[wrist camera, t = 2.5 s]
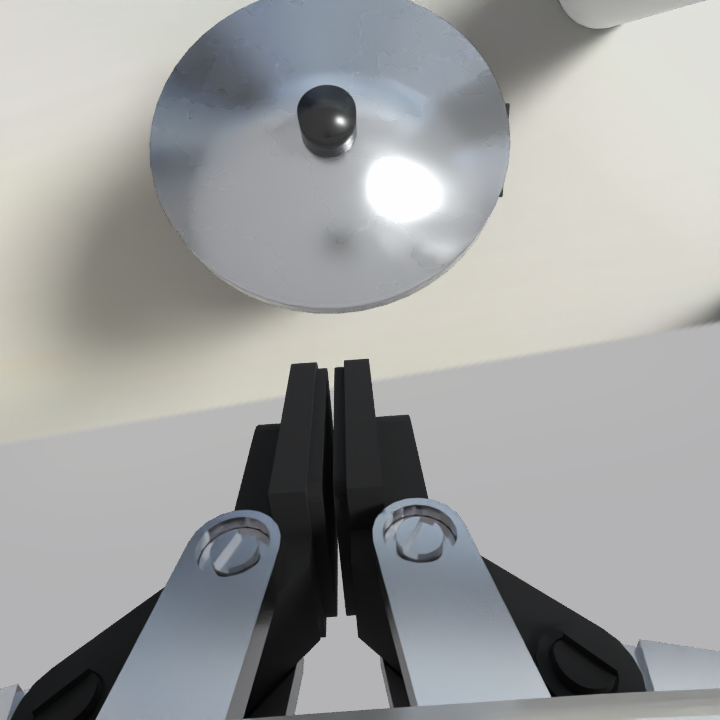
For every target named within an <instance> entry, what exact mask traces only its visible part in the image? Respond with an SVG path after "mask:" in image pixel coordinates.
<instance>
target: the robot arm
mask: <svg viewBox="0 0 720 720" xmlns="http://www.w3.org/2000/svg"><path fill="white" fill-rule="evenodd" d="M337 543H338V544H339V552H340V562H341V571H342V580H343V590H344V599H345V608H346V615H347V616H351V615H356V618H357V629H358V637H359V638H360V639H361V640H362V641H363V642H365V643H366V644H367V645H368V646H369V647H370V648H371V649H373V650H374V651H375V652H376V653H377V654H378V655H380V661H381V670H382V674H383V678H384V683H385V687H386V692H387V696H388V701H389V705H390V708H387V709H373V710H359V711H347V712H332V713H319V714H304V715H294V714H295V709H296V704H297V700H298V695H299V690H300V685H301V680H302V675H303V664H304V659H303V656H305V654H307V653H308V652H309V651H310V650H311V649H312V648H313V647H314V645H316V643H318V642H319V641H320V637H326V617H336V616H337V585H338V580H337V579H338V578H337V577H338V567H337V566H338V564H337V563H338V562H337V561H338V551H337V550H338V544H337ZM0 720H720V651H714V650H707V649H700V648H694V647H688V646H680V645H674V644H667V643H661V642H654V641H648V640H641V639H640V640H639V642H638V645H637V647H635V646H629V645H623V644H621V643H620V641H618V640H617V639H616V638H614V637H613V636H612V635H610V634H609V633H608V632H606V631H605V630H604V629H602V628H601V627H599V626H597V625H596V624H594V623H592V622H591V621H589V620H587V619H586V618H584V617H582V616H581V615H579V614H577V613H576V612H574V611H572V610H571V609H569V608H567V607H566V606H564V605H562V604H561V603H559V602H557V601H556V600H554V599H552V598H550V597H549V596H547V595H545V594H544V593H542V592H541V591H539V590H537V589H535V588H534V587H532V586H531V585H529V584H527V583H526V582H524V581H522V580H521V579H519V578H517V577H516V576H514V575H512V574H511V573H509V572H507V571H506V570H504V569H502V568H501V567H499V566H497V565H496V564H494V563H492V562H491V561H489V560H487V559H485V558H484V557H482V556H481V555H480V554H479V551H478V549H477V547H476V545H475V543H474V541H473V539H472V537H471V535H470V533H469V531H468V529H467V527H466V525H465V523H464V522H463V521H462V519H461V518H460V516H459V515H458V514H457V513H456V512H455V511H453V510H452V509H451V508H449V507H448V506H447V505H445V504H442V503H440V502H438V501H435V500H431V499H428V496H427V491H426V487H425V482H424V478H423V473H422V469H421V465H420V460H419V456H418V451H417V447H416V442H415V438H414V433H413V429H412V425H411V420H410V417H409V415H397V416H384V417H375V409H374V400H373V391H372V383H371V374H370V365H369V359H359V360H344V367H337V368H335V375H334V430H333V421H332V410H331V400H330V390H329V380H328V371H327V368H322V369H318V365H317V362H314V363H299V364H292V365H291V369H290V374H289V380H288V386H287V391H286V397H285V403H284V408H283V413H282V419H281V423H280V424H265V425H258V426H257V427H256V429H255V432H254V436H253V440H252V443H251V448H250V451H249V456H248V459H247V463H246V467H245V471H244V475H243V479H242V483H241V488H240V491H239V495H238V499H237V502H236V506H235V510H234V511H232V512H228V513H225V514H222V515H219V516H217V517H216V518H214V519H212V520H210V521H208V522H207V523H205V524H204V525H203V526H202V527H201V528H200V529H199V530H197V531H196V533H195V534H194V535H193V537H192V538H191V540H190V541H189V542H188V544H187V546H186V548H185V550H184V552H183V553H182V555H181V558H180V559H179V561H178V563H177V565H176V567H175V569H174V571H173V573H172V574H171V576H170V578H169V580H168V582H167V584H166V586H165V587H164V588H163V589H161V590H160V591H159V592H157V593H156V594H154V595H153V596H152V597H150V598H149V599H147V600H146V601H145V602H143V603H142V604H141V605H139V606H138V607H136V608H135V609H134V610H132V611H131V612H129V613H128V614H127V615H125V616H124V617H123V618H121V619H120V620H118V621H117V622H116V623H114V624H113V625H111V626H110V627H109V628H108V629H106V630H104V631H103V632H102V633H100V634H99V635H98V636H96V637H95V638H94V639H92V640H91V641H90V642H88V643H86V644H85V645H84V646H82V647H81V648H80V649H78V650H77V651H75V652H74V653H73V654H71V655H70V656H68V657H67V658H66V659H64V660H63V661H62V662H60V663H59V664H57V665H56V666H55V667H53V668H52V669H51V670H50V671H49V672H47V673H46V674H45V675H44V676H43V677H41V679H39V680H38V681H37V682H36V683H35V684H34V685H33V686H32V687H31V689H28V690H24V691H22V689H21V688H20V686H19V685H18V684H16V685H13V686H10V687H6V688H3V689H0Z"/></svg>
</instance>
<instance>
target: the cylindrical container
mask: <svg viewBox="0 0 720 720" xmlns="http://www.w3.org/2000/svg"><path fill="white" fill-rule="evenodd" d="M559 1H560V3H561V6H562V8H563V9H564V10H565V12H566V13H567V14H568V16H569V17H570V18H572V19H573V20H574V21H575V22H576V23H578V24H580V25H583V26H585V27H588V28H594V29H603V28H610V27H613V26H617V25H620V24H624V23H627V22H631V21H634V20H638V19H641V18H645V17H648V16H652V15H655V14H659V13H662V12H666V11H669V10H673V9H676V8H680V7H684V6H687V5H691V4H694V3H698V2H701V1H705V0H559Z"/></svg>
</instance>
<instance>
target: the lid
mask: <svg viewBox="0 0 720 720" xmlns="http://www.w3.org/2000/svg"><path fill="white" fill-rule="evenodd" d="M509 152H510V132H509V120H508V116H507V111H506V106H505V102H504V99H503V96H502V94H501V91H500V88H499V86H498V83H497V81H496V79H495V77H494V76H493V74H492V72H491V70H490V68H489V66H488V65H487V63H486V62H485V61H484V59H483V58H482V56H481V55H480V54H479V52H478V51H477V50H476V48H475V47H474V46H473V45H472V44H471V43H470V42H469V41H468V40H467V39H466V38H465V37H464V36H463V35H462V34H461V33H460V32H459V31H458V30H456V29H455V28H454V27H453V26H451V25H450V24H449V23H448V22H446V21H445V20H444V19H442V18H441V17H439V16H437V15H436V14H434V13H432V12H431V11H429V10H428V9H426V8H424V7H422V6H419V5H417V4H415V3H413V2H411V1H409V0H259V1H257V2H254V3H252V4H250V5H248V6H246V7H244V8H242V9H240V10H238V11H236V12H234V13H233V14H231V15H230V16H228V17H226V18H225V19H223V20H221V21H220V22H219V23H217V24H216V25H215V26H214V27H212V28H211V29H210V30H208V31H207V32H206V33H205V34H203V35H202V36H201V37H200V38H199V39H198V40H197V41H196V42H195V43H194V44H193V45H192V46H191V47H190V48H189V49H188V51H187V52H186V53H185V55H184V56H183V57H182V59H181V60H180V61H179V62H178V64H177V65H176V66H175V68H174V70H173V71H172V73H171V75H170V77H169V78H168V80H167V82H166V83H165V86H164V88H163V90H162V93H161V95H160V98H159V100H158V102H157V106H156V110H155V113H154V117H153V121H152V127H151V136H150V165H151V171H152V176H153V181H154V186H155V189H156V192H157V195H158V197H159V200H160V203H161V206H162V208H163V210H164V212H165V214H166V215H167V217H168V219H169V221H170V223H171V225H172V226H173V228H174V229H175V230H176V232H177V233H178V234H179V236H180V237H181V239H182V240H183V241H184V243H185V244H186V245H187V246H188V248H189V249H190V250H191V251H192V252H193V254H194V255H195V256H196V257H197V258H198V259H199V260H200V261H201V262H202V263H203V264H204V265H205V266H206V267H207V268H208V269H209V270H210V271H211V272H212V273H214V274H215V275H216V276H218V277H219V278H220V279H221V280H223V281H224V282H225V283H227V284H228V285H230V286H232V287H233V288H235V289H237V290H239V291H240V292H242V293H244V294H246V295H247V296H250V297H252V298H255V299H257V300H259V301H262V302H264V303H267V304H270V305H273V306H277V307H281V308H285V309H289V310H293V311H301V312H309V313H347V312H355V311H363V310H367V309H371V308H375V307H379V306H383V305H387V304H389V303H392V302H395V301H397V300H400V299H402V298H405V297H407V296H410V295H411V294H413V293H415V292H417V291H419V290H420V289H422V288H424V287H426V286H428V285H429V284H431V283H432V282H434V281H435V280H436V279H438V278H439V277H440V276H442V275H443V274H444V273H446V272H447V271H448V270H449V269H450V268H451V267H452V266H454V265H455V264H456V263H457V262H458V261H459V260H460V259H461V258H462V257H463V256H464V255H465V253H466V252H467V251H468V250H469V248H470V247H471V246H472V245H473V243H474V242H475V241H476V239H477V238H478V236H479V235H480V233H481V231H482V230H483V228H484V226H485V224H486V223H487V221H488V219H489V217H490V215H491V213H492V211H493V209H494V207H495V205H496V202H497V200H498V197H499V195H500V192H501V190H502V187H503V185H504V181H505V176H506V172H507V168H508V163H509Z"/></svg>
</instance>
